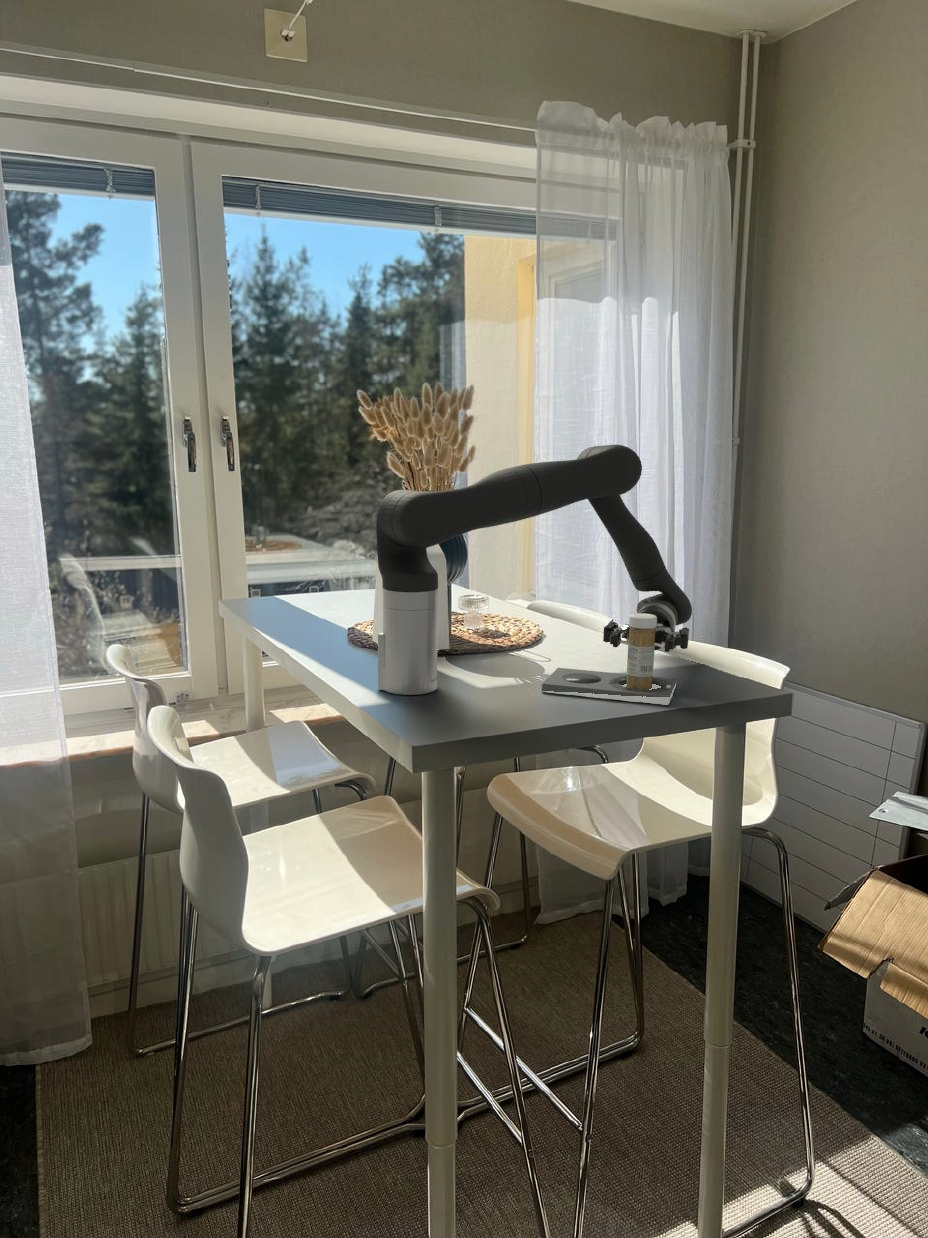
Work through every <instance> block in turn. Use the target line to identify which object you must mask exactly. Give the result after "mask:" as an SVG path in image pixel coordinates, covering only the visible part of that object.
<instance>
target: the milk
mask: <svg viewBox="0 0 928 1238" xmlns="http://www.w3.org/2000/svg"><path fill="white" fill-rule="evenodd" d="M427 556H428V559H429V562H430V563H431V565H432V566H433V568H434V569H435V570H436V571H437V574H438V638H437V649H449V650H450V631H449V629H450V628H449V625H450V624H449V600H448V599H449V598H448V597H449V595H448V569H447V566H448V565H447V558H446V555H445V553H444V551H443V550H442V548H441V546H440V544H437V545H434V546H431V547H428V548H427ZM375 572H376V574H375V585H374V586H375V587H374V589H375V590H374V608H373V622H372V638H371V639H372V641H374V642H376V643H377V644H378V634H379V633H381V632H383V587H382V576H381V573H380V571H379V567H378V558H376V571H375ZM372 641H371V642H372Z"/></svg>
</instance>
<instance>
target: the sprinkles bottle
mask: <svg viewBox="0 0 928 1238" xmlns="http://www.w3.org/2000/svg"><path fill="white" fill-rule="evenodd" d="M628 618H629V619H628V624H629V629H630V630H629V643H628V645H627V662H626V663H627V664H626V666H627V667H626V674H627V686H626V687H627V688H631V689H639V690H649V689H651V688H652V679H653V677H654V676H653V675H654V664H655V651H656V650H655V630H656V628H655V627H657V617H656V616H655V615H652V614H645V613H637V612H636V613H632V614H629V616H628Z"/></svg>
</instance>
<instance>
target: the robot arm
mask: <svg viewBox="0 0 928 1238" xmlns="http://www.w3.org/2000/svg"><path fill="white" fill-rule="evenodd" d="M642 471H643V464H642V461H641V459H640V456H639V455H638V453H637V452H635V451H634V450H633V449H631V448H630V447H628V446H625V445H622V444H606V445H594V446H591V447H587V448H586V449H584V450H582V451H581V452H580V453H579V455H578V456H577V458H576V459H570V460H555V461H553V460H552V461H539V462H533V463H531V462H530V463H527V464H526V463H525V464H521V465H516V466H512V467H508V468H504V469H500V470H496V471H495V472H492V473H489V474H488V475H486V476H484V477H482V478H481V479H479V480H477V481H476V482H474V483H472V484H469V485H468V486H464V487H461V488H455V489H449V490H440V491H439V490H438V491H420V490H412V489H398V490H394V491H391V492H390V493H388V494H387V495H385V497H384V498H383V499H382V500H381V502H380V504H379V506H378V509H377V514H376V521H375V522H376V525H375V526H376V533H375V534H376V552H377V553H376V554H377V558H378V567H379V571H380V573H381V576H382V587H383V632H381V633H379V634H378V647H377V690H380V691H385V692H387V693H389V694H394V695H403V696H411V695H412V696H414V695H425V694H429V693H432V692H435V691H436V690H437V688H438V651H437V638H438V574H437V571H436V570H435V569H434V568H433V566H432V565H431V563H430V562H429V559H428V556H427V548H428V547H431V546H434V545H437V544H438V545H440V544H442V543H445V542H447V541H449V540H451V539H454V538H455V537H456V538H457V537H458V536H462V535H463V534H466V533H469V532H472V531H475V530H480V529H485V528H491V527H497V526H501V525H506V524H510V523H516V522H519V521H523V520H526V519H531V518H535V517H536V516H540V515H543V514H547V513H550V512H552V511H553V512H554V511H556V510H558V509H561V508H563V507H567V506H570V505H572V504H575V503H577V502H581V501H585V500H587V501H588V502H589V504H590V505H591V507H592V508H593V510H594V512H595V513H596V515H597V516H598V518H599V520H600V521H601V524H602V525H603V526H604V527H605V530H606V531H607V533H608V534H609V536H610V537H611V540H612V541H613V542H614V545H615V546H616V549H617V551H618V553H619V555H620V557H621V559H622V562H623V564H624V566H625V568H626V571H627V574H628V575H629V577H630V580H631V583H632V584H633V586H634V588H635V589H636V590H637V591H639V592H647V593H648V592H649V593H650V592H660V593H658V594H655V595H652V596H648V597H645V598H644V599H643V598H642V600H639V602H638V603H637V606H636V613H645V614H652V615H655V616H656V617H657V627H655V628H656V630H655V651H658V650H661V649H664V652H667V653H670V651H671V650H675V649H677V647H678V646H679V647H680V648H679V649H682V650H686V649H687V650H688V647H689V635H690V628H688V627H682V628H680V629H679V630H678V631H676V627H677V626H680V625H683V624H686V623H688V621H690V620H691V616H692V614H693V607H692V603H691V601H690V600H689V597H688V596H687V594H686V593H685V592H684V591H683V590H682V588H681V587H680V586H679V585H678V583H676V582H675V580H674V579H673V577H672V576H671V574H670V573H669V571H668V569H667V567H666V565H665V562H664V559H663V557H662V555H661V552H660V550H659V548H658V546H657V544H656V542H655V540H654V538H653V537H652V536H651V534H650V533H649V532H648V531H647V530H646V529H645V527H644V526H643V525H642V524H641V523H640V522H639V520H637V519H636V518H635V516H634V515H633V513H631V512H630V510H629V508H628V507H627V506H626V504H625V502H624V501H623V499H622V497H621V495H624V494H626V493H628V492H629V491H631V490H632V489H634V488H635V486H636V485H637V484H638V482H639V480H640V479H641V475H642V473H643V472H642ZM377 558H376V559H377ZM629 630H630V629H629V623H626V624H622V626H619V624H618V623H617V622H616V621H611V622H609V623H608V624H607V625H605V626H604V627H603V636H602V639H603V640H602V641H603V642H605V643H609V644H610V645H612V647H613V648H618V647H619V646H620V644H622V645H626V646H628V643H629Z"/></svg>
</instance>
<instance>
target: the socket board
mask: <svg viewBox="0 0 928 1238" xmlns="http://www.w3.org/2000/svg"><path fill="white" fill-rule="evenodd" d="M676 682H677V683H678V679H677V678H671V677H659V676H653V679H652V684H656V685H659V686H661V688H657V689H652V690H639V689H631V688H627V687H623V686H621V685H624V684H627V673H618V672H617V673H616V672H607V671H597V670H588V669H586V670H585V669H576V668H565V667H557V668H556V669H555V670H554V671H553V672H552V673H551V674H550V675H549V676H548V677H547V678H546V679H545V680H544V681H543V682H542V684H541V692H542V691H554V692H578V693H592V694H593V693H594V694H608V695H621V696H642V697H643V696H646V697H670V695H671V693H672V690H673V688H674V686H675V684H676Z"/></svg>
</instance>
